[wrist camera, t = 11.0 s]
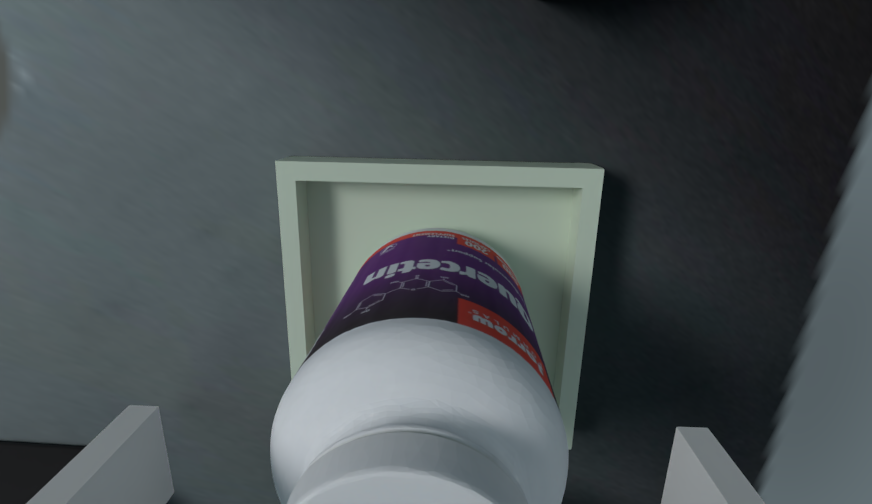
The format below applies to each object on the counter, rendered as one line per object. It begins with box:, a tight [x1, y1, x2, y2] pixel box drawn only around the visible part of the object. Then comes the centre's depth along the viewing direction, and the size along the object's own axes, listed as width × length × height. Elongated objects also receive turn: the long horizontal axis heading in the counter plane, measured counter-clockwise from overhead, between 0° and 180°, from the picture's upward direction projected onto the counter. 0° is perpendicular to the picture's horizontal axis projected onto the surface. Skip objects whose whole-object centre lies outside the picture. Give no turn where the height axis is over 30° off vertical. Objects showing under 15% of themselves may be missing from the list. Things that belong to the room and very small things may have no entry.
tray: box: [275, 156, 604, 449], centre depth 23 cm, size 14×14×2 cm
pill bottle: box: [270, 228, 568, 504], centre depth 17 cm, size 8×8×14 cm
